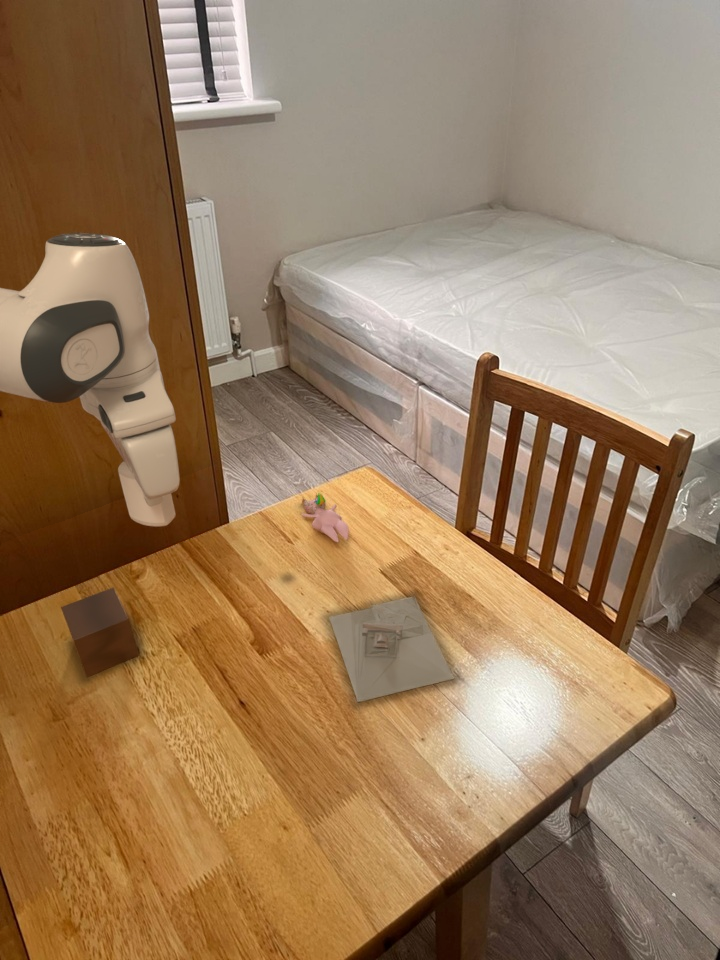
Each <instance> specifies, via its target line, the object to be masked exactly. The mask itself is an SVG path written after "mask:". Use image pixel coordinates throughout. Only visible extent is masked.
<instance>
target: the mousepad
mask: <svg viewBox="0 0 720 960" xmlns="http://www.w3.org/2000/svg"><path fill="white" fill-rule="evenodd" d="M328 618H329V621H330V624H331V627H332V630H333V633H334V636H335V640H336V642H337V645H338V649H339V651H340V654H341V658H342V660H343V663H344V666H345V669H346V672H347V675H348V678H349V681H350V684H351V687H352V689H353V693H354V696H355V698H356V701H357V703H360V702H365V701H368V700H372V699H378V698H380V697H385V696H389V695H394V694H397V693H402V692H406V691H410V690H414V689H418V688H423V687H426V686H430V685H434V684H437V683H442V682H446V681H450V680H455V677H454V675H453V672H452V671H451V668H450V667H449V664H448V662H447V660H446V658H445V656H444V654H443V652H442V650H441V648H440V646H439V644H438V641H437V640H436V638H435V635H434V633H433V631H432V629H431V628H430V625H429V623H428V621H427V618H426V617H425V615H424V613H423V611H422V609H421V607H420V605H419V603H418V600H417V598H416V597H415V595H413V596H409V597H404V598H399V599H395V600H389V601H384V602H381V603H380V602H379V603H377V604H372V605H370V607H367V608H363V609H359V610H354V611H353V610H352V611H348V612H344V613H339V614H334V615H331V616H328Z"/></svg>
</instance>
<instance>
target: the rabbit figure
mask: <svg viewBox="0 0 720 960" xmlns="http://www.w3.org/2000/svg"><path fill="white" fill-rule="evenodd" d="M300 504H301V506H303V509H304V511H305V512H306V513H302V512H301V517H302V518H303V517H304V518H310V519H314V520H313V521H312V523H311V527H312V528H313V529H315V530H316V531H318V532H320V533H322V534H325V535H326V536H327V537H329V538H330V539H331V540H332V541H334V542H335V543H340V539H339V535H340V536H341V537H342V538H343V539H344V540H345V541H348V539H349V535H350V528H349V525H348V523H347V522H345V520H343V517H342V516H341V515H340V514H338V513H337V512H336V511H334V510H335V509H336V508H337V504H333V505H332V507H331V508H330V509H326V499H325V497H324V495H323V494H321V493H320V492H318V493H317V492H315V498H314V499H312V500H307V499H306V498H304V496H303V495H302V500H301V503H300ZM337 533H338V534H339V535H338V534H337Z"/></svg>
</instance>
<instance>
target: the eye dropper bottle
mask: <svg viewBox="0 0 720 960" xmlns="http://www.w3.org/2000/svg"><path fill="white" fill-rule="evenodd" d="M117 472H118V476H119V481H120V484H121V489H122V493H123V496H124V501H125V504H126V508H127V512H128V515H129V517H130V519H131V520H132V521H134V522H135V523H138V524H140V525H142V526H147V527H148V526H149V527H166V526H168V525H169V524H170V523H171V522H172V521H173V520H174V519H175V518H176V509H175V505H174V500H173V495H172V493H170V494H167V495H164V496H162V499H163V501H162V502H161V503H160V504H157V505H154V506H148V505H147V503H146V501H145V499H144V496H143V492H142V489H141V488H140V486H139V484H138V483H137V481H136V480H135V478H134V476H133V475H132V473H131V471H130V470H129V468H128V467H127V465H126V463H125V462H124V460H123V461H122V462H121V463H120V464H119V466H118V468H117Z"/></svg>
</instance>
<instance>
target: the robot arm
mask: <svg viewBox="0 0 720 960" xmlns="http://www.w3.org/2000/svg"><path fill="white" fill-rule="evenodd" d="M44 247H45V248H44V249H45V250H44V251H45V256H44V258H43V260H42V263H41V265H40V267H39V268H38V271H37V272H36V274H35V275H34V277H33V278H32V279H31V281H30V282H29V283H28V284H27V285H26V286H25V287H24V288H22V289H21V290H14V289H10V288H3V287H0V392H3V393H6V394H11V395H16V396H20V397H24V398H26V399H32V400H37V401H41V402H45V403H54V404H62V403H68V402H71V401H72V402H73V401H74V400H76V399H78V398H79V401H80V404H81V407H82V409H83V411H85V412H86V413H88V414H89V415H92V416H94V417H95V418H96V419H97V420H98V421H99V422H100V424H101V426H102V428H103V429H104V431H105V433H106V434H107V436H108V437H109V439H110V441H111V443H112V444H113V446H114V448H115V449H116V451H117V452H118V453H119V455H120V457H121V459H122V460H123V461H124V462H125V463H126V465H127V467H128V468H129V470H130V471H131V473H132V475H133V476H134V478H135V480H136V481H137V483H138V484H139V486H140V488H141V489H142V492H143V496H144V499H145V501H146V503H147V505H148V506H154V505H157V504H160V503H161V502H162V501H163V499H162V496H164V495H167V494H170V493H171V494H172V493H175V492H176V491H177V490H179V486H180V483H181V482H180V481H181V477H180V468H179V461H178V452H177V445H176V440H175V435H174V432H173V428H172V424H174V423H175V422H176V421H177V417H176V411H175V408H174V405H173V403H172V400H171V398H170V396H169V394H168V392H167V390H166V388H165V383H164V378H163V374H162V371H161V367H160V362H159V361H160V360H159V356H158V352H157V349H156V346H155V344H154V342H153V340H152V338H151V336H150V330H149V327H150V326H149V324H150V312H149V307H148V302H147V297H146V293H145V290H144V285H143V282H142V278H141V277H142V276H141V275H140V271H139V268H138V265H137V262H136V259H135V258H134V255H133V253H132V251H131V250H130V248H129V246H128V245H127V244H126V242H125V241H123V240H122V239H119V238H118V237H116V236H113V235H107V234H100V233H93V232H92V233H91V232H89V233H82V232H72V233H62V234H59V235H54V236H52V237H51V238H48V239H47V240H46V242H45V246H44Z"/></svg>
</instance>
